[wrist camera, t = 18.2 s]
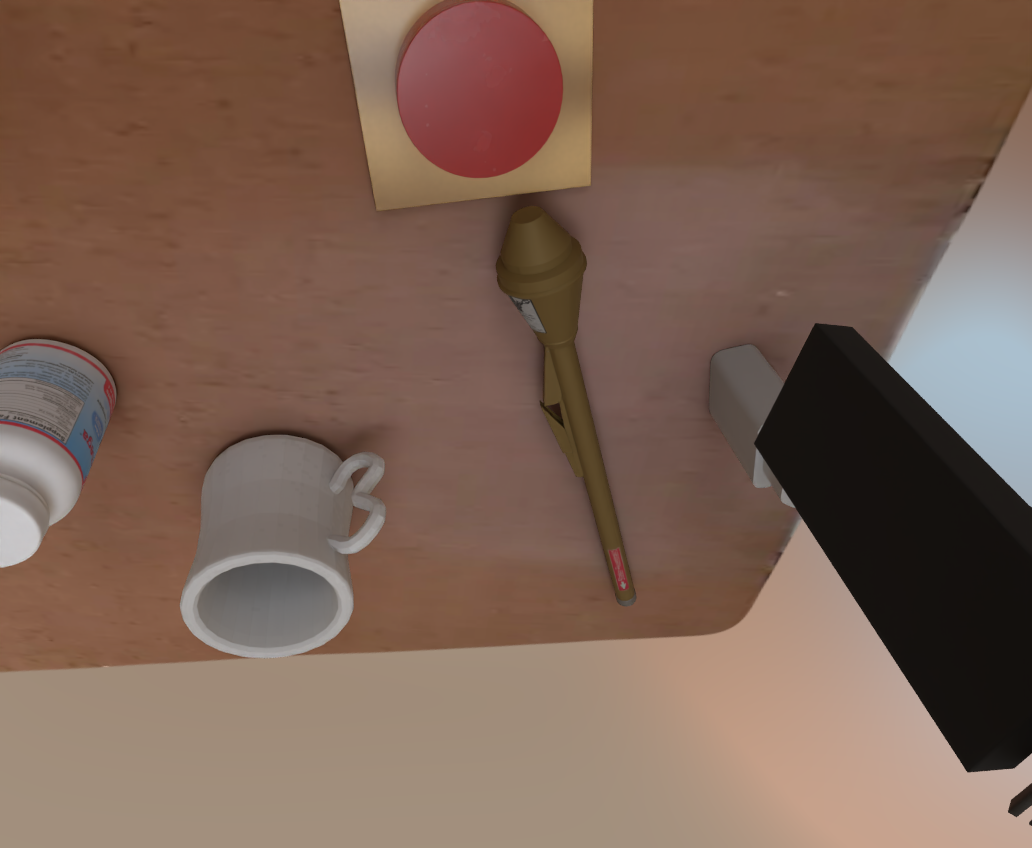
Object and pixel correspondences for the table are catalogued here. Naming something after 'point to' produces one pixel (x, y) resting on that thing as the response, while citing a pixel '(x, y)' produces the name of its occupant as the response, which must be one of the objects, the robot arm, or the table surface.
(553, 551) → the table surface
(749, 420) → the power adapter
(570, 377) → the toy grenade launcher
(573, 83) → the coaster
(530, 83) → the lid
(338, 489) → the mug
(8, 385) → the pill bottle
